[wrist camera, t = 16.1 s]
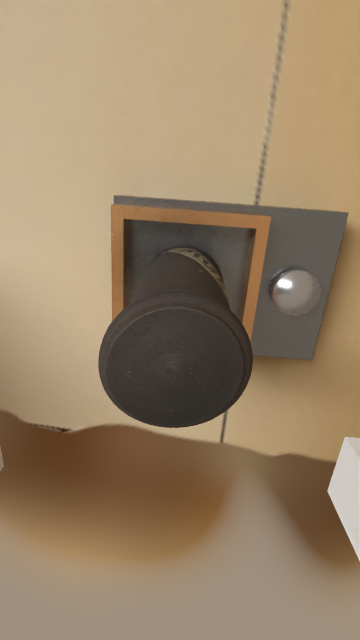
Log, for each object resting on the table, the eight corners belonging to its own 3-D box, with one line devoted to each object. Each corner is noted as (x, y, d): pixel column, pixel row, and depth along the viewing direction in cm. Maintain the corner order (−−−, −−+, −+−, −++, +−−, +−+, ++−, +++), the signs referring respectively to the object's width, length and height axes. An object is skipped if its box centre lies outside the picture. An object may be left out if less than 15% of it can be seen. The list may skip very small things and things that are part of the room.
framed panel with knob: (121, 331, 43) (110, 354, 37) (121, 195, 36) (107, 195, 30) (301, 345, 42) (319, 370, 36) (332, 210, 36) (360, 214, 30)
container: (230, 307, 37) (270, 422, 18) (156, 326, 38) (121, 453, 19) (212, 232, 34) (238, 278, 15) (132, 255, 35) (63, 324, 16)
